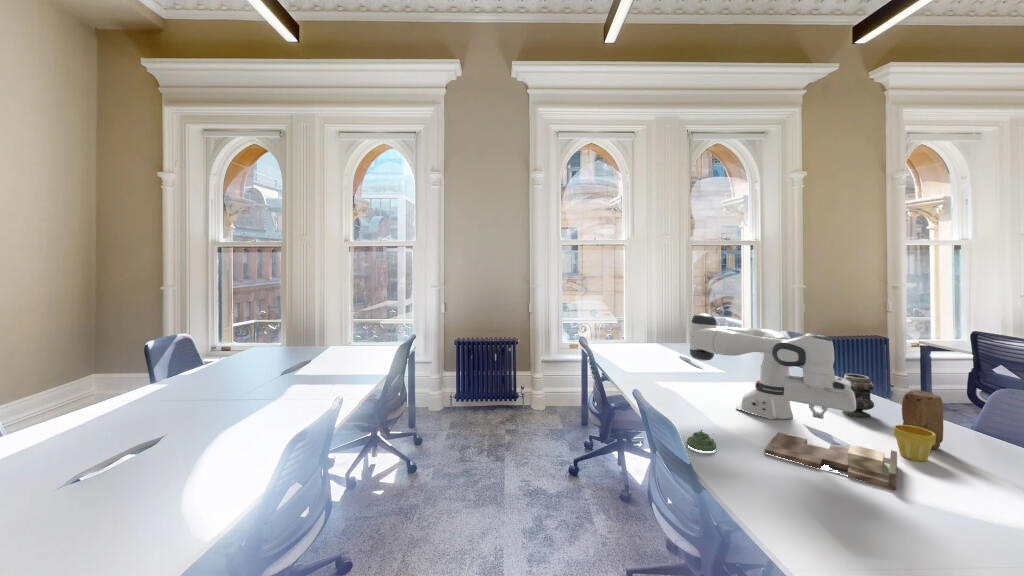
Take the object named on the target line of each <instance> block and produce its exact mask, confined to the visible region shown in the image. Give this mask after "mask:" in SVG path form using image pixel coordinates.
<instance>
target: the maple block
mask: <svg viewBox="0 0 1024 576" xmlns="http://www.w3.org/2000/svg"><path fill="white" fill-rule="evenodd" d="M848 449H849V450H848V458H847V464H848V465H852V466H856V467H860V468H864V469H867V470H871V471H875V472H879V473H883V469H884V457H885V452H884V451H881V450H880V451H879V450H878V449H877V450H876V449H872V448H868V447H863V446H858V445H854V444H849V447H848Z"/></svg>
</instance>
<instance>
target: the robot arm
mask: <svg viewBox="0 0 1024 576" xmlns="http://www.w3.org/2000/svg"><path fill="white" fill-rule="evenodd" d="M717 325H718V323H717V319H716V318H715V317H714V316H713V315H711V314H707V313H699V314H695V315H693V316H692V318H691V326H690V331H689V354H690V356H691V358H692V359H695V360H697V361H700V362H706V361H712V359H713V358H714V356H715V355H720V356H726V357H727V356H728V357H730V356H732V357H733V356H735V357H737V356H741V355H746V354H751V353H763V357H762V361H761V364H760V366H759V367H760V368H759V369H760V376H759V377H760V378H759V380H756V382H755V384H754V387H755V388H754V389H753V390H751V391H749V392H747V393H745V394H744V395H743V397H742V399H741V402H739V403H737V404H736V407H737V408H738V409H740V410H744V411H747V412H750V413H754V414H757V415H760V416H763V417H762V418H764V417H766V418H765V419H767V418H770V419H769V420H777V419H776V418H778V419H779V420H787V419H792V418H793V417H794V415H793V411H792V407H791V402H794V403H798V404H799V403H800V404H807V405H808V408H809V410H810V411H811V412H812V418H817V419H821V420H824V416H825V413H826V412H827V410H828V409H833V410H838V411H849V412H853V411H855V410H856V399H855V394H854V392H853V390H852V389H850V388H851V382H850V381H848V380H845V379H843V378H844V377H840V376H837V375H835V369H834V363H835V350H834V349H835V348H834V343H833V340H832V339H831V338H830V336H827V335H824V334H820V333H814V332H808V333H805V334H803V335H802V336H794V337H790V336H788V335H787V334H784V333H783V332H780V331H777V330H774V329H770V328H768V329H767V328H745V327H735V326H733V327H732V326H721V325H720V326H719V325H718V326H717ZM790 367H791V368H793V367H800V368H802V376H797V375H796V376H794V375H790ZM738 406H739V407H738ZM816 406H817V407H821V410H822V411H821V412H820V411H816V410H815V407H816ZM736 407H735V408H736ZM757 415H756V416H757ZM760 416H759V417H760Z"/></svg>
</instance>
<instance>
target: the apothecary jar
mask: <svg viewBox="0 0 1024 576" xmlns="http://www.w3.org/2000/svg"><path fill="white" fill-rule="evenodd" d="M842 378H843V379H845V380H848V381H850V382H851V388H850V389H852V390H853V392H854V394H855V399H856V410H855V411H853V412H849V411H843V410H841V412H842V413H843V414H844V415H847V416H850V417H854V418H859V419H869V418H872V415H871V414H870V413H869V412H866V411H867V410H868V411H870V410H872V409H874V407H875V403H874V401H873V400H872V399H871V391H873V390H874V387H875V385H874V384H873V383H872V382H871V380H870V377H869V376H867V375H862V374H856V373H845V374H844V377H842Z"/></svg>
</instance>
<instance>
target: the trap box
mask: <svg viewBox="0 0 1024 576" xmlns="http://www.w3.org/2000/svg"><path fill="white" fill-rule="evenodd" d="M848 450H849V448H846V447H842V446H837V445H834V444H830V446H829V448H826V447H822V446H819V445H813V444H811V443H810V444H809V443H808V439H807V438H804V437H800V436H796V435H791V434H786V433H783V432H779V431H778V432H776V434H775V435H774V436H773V438H772V439H771V440H770V442H769V443H768V444H767V445H766V447H765V448H764V454H765V453H768V454H771V455H774V456H778V457H781V458H785V459H788V460H792V461H795V462H799V463H802V464H804V465H803V466H805V465H808V466H812V467H815V468H819V469H820V468H821V466H823V465H824V464H825V465H829V467H830V468H832V469H833V470H838V472H840V473H841V474H845V475H848V477H851V478H850V479H852V478H855V479H858V480H857V481H859V480H862V481H861V482H863V481H865V482H864V483H866V482H867V484H870V483H871V484H870V485H873V484H874V486H876V487H877V486H878V487H881V488H884V487H885V488H884V489H888V490H892V491H896V490H897V473H898V471H897V470H898V451H895V450H890V456H889V457H890V458H889V457H885V456H884V469H883V473H879V472H875V471H871V470H867V469H864V468H860V467H856V466H852V465H848V464H847V458H848ZM808 466H807V467H808ZM812 467H811V468H812ZM815 468H814V469H815ZM819 469H818V470H819ZM833 470H829V471H833ZM840 473H838V474H840ZM848 477H847V478H848ZM855 479H854V480H855Z"/></svg>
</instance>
